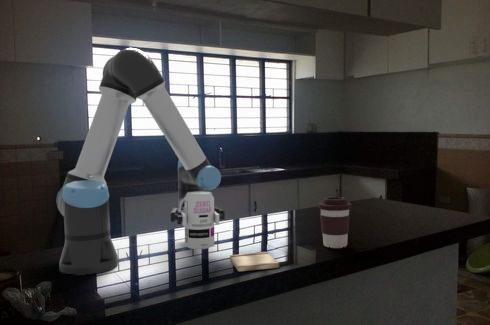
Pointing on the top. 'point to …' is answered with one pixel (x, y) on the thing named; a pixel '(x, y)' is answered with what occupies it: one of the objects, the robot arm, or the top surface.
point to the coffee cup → (335, 221)
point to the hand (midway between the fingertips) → (201, 220)
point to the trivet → (253, 261)
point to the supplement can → (199, 220)
